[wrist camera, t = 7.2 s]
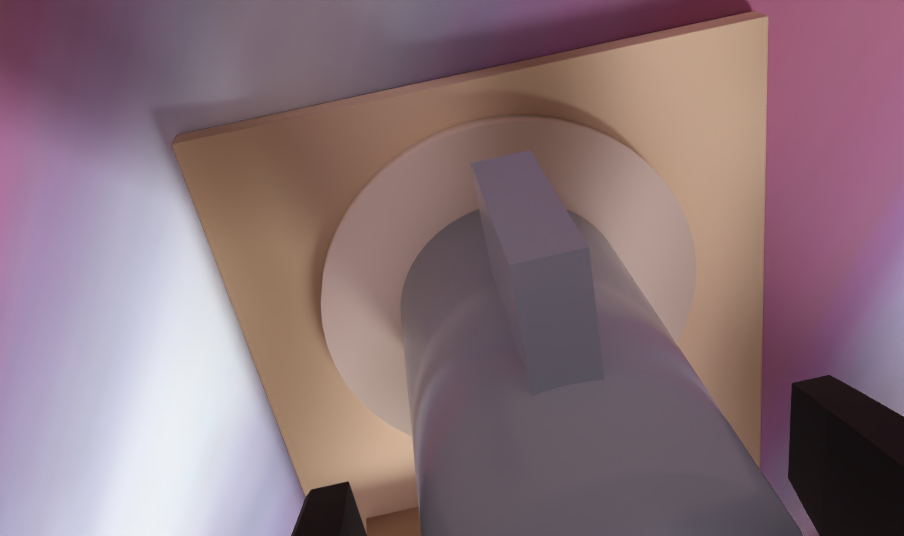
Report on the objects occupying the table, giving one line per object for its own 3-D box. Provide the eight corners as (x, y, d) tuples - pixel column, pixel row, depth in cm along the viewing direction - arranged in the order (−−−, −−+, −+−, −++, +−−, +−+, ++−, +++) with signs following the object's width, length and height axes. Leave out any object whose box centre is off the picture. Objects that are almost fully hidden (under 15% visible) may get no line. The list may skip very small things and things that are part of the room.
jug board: (754, 11, 16) (811, 31, 14) (748, 666, 26) (779, 730, 24) (177, 134, 15) (152, 173, 13) (405, 744, 26) (410, 815, 24)
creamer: (631, 370, 18) (805, 691, 11) (426, 416, 18) (469, 767, 11) (604, 83, 15) (828, 282, 8) (352, 139, 15) (347, 389, 8)
